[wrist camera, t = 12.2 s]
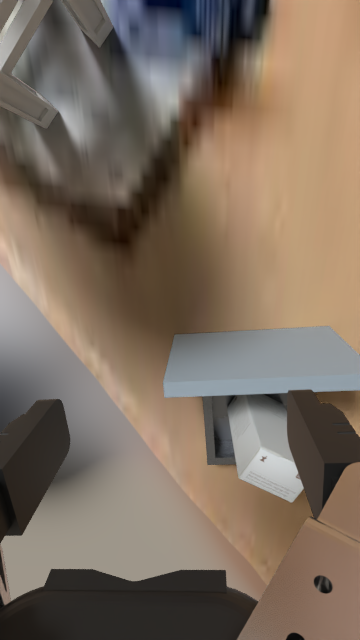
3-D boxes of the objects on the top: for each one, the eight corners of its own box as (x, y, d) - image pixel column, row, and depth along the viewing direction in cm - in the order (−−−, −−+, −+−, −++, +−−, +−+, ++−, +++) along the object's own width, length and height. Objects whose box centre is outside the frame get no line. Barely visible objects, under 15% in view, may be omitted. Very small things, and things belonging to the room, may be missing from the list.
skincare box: (225, 408, 43) (233, 481, 32) (243, 380, 42) (258, 446, 30) (268, 429, 44) (290, 508, 32) (287, 402, 42) (318, 474, 31)
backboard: (328, 325, 40) (378, 373, 28) (328, 338, 40) (377, 389, 29) (174, 334, 41) (163, 382, 30) (175, 346, 42) (164, 397, 30)
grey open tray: (302, 339, 40) (312, 354, 36) (299, 441, 45) (308, 464, 41) (200, 345, 41) (199, 359, 37) (207, 443, 46) (207, 465, 42)
